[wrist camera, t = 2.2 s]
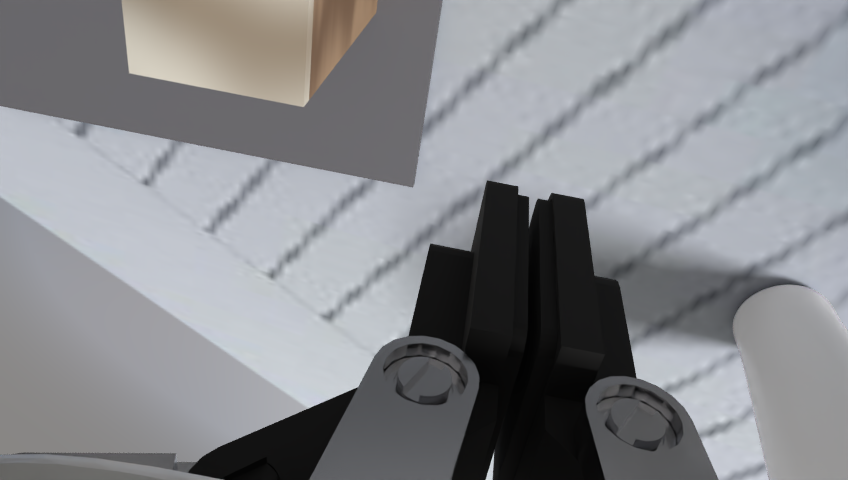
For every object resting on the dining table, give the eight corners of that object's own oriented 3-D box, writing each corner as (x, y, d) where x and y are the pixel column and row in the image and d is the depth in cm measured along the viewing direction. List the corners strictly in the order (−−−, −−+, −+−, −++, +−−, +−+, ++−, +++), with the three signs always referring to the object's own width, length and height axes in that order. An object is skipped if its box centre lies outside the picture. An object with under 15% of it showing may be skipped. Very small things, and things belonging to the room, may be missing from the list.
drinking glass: (693, 337, 41) (761, 574, 28) (762, 251, 37) (874, 481, 25) (795, 375, 41) (905, 625, 29) (872, 294, 37) (1038, 541, 25)
